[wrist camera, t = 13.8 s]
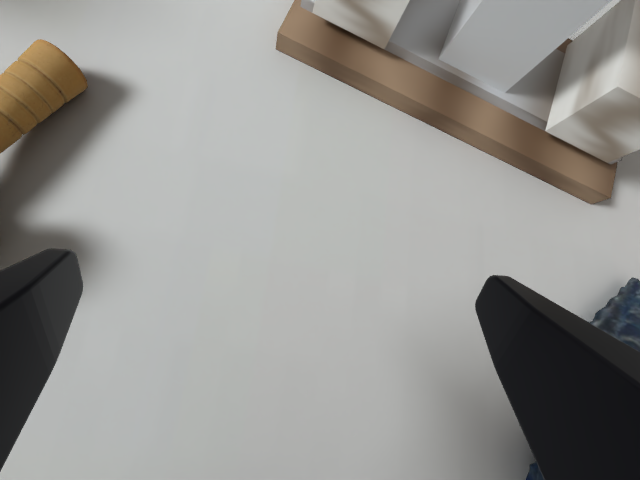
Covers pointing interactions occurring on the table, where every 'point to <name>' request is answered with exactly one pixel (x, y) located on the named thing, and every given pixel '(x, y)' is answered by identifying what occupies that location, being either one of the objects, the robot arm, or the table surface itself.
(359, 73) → the rail board
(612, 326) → the fish model
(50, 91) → the kendama
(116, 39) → the table surface
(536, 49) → the logic module
